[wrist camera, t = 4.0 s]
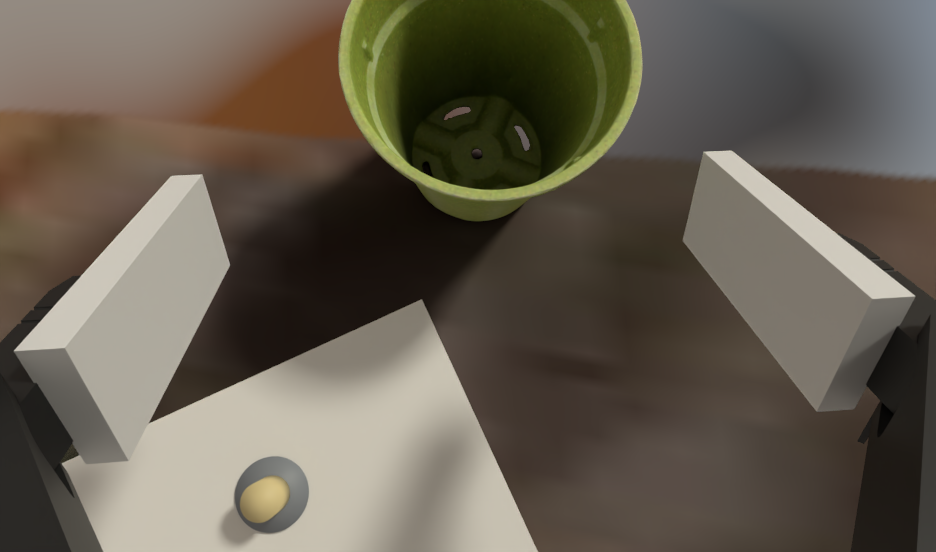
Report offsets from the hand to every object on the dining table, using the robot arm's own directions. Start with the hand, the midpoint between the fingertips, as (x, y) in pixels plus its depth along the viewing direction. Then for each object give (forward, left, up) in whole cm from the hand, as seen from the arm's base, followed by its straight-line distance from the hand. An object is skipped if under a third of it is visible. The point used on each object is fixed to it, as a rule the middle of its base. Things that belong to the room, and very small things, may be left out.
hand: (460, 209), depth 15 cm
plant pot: (-3, -4, -10) cm, 11 cm away
